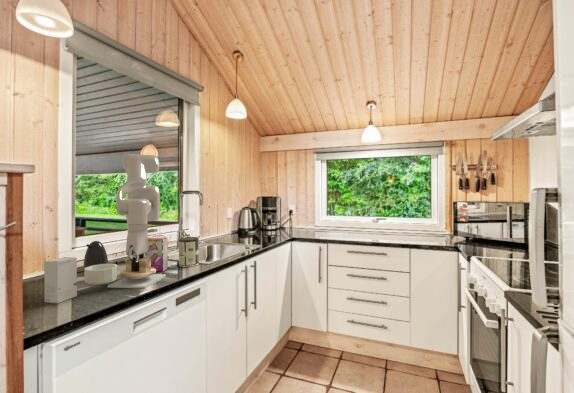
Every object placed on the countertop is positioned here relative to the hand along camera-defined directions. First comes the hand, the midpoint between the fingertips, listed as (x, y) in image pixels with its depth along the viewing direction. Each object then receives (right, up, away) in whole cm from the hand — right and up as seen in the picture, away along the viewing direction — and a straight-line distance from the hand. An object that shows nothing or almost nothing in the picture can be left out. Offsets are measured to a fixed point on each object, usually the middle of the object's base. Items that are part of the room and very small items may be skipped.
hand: (138, 269), depth 134 cm
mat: (0, -5, 0) cm, 5 cm away
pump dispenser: (-28, -5, +15) cm, 32 cm away
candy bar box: (-1, -5, +18) cm, 19 cm away
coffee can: (+12, -5, +30) cm, 33 cm away
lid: (0, -3, 0) cm, 3 cm away
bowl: (-17, -5, +1) cm, 18 cm away
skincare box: (-18, -6, -22) cm, 29 cm away
